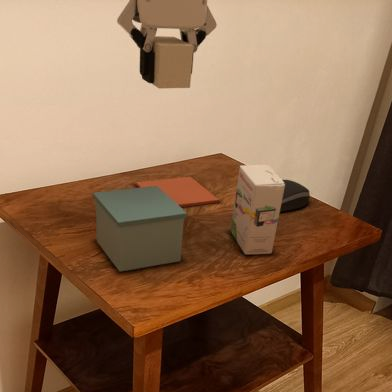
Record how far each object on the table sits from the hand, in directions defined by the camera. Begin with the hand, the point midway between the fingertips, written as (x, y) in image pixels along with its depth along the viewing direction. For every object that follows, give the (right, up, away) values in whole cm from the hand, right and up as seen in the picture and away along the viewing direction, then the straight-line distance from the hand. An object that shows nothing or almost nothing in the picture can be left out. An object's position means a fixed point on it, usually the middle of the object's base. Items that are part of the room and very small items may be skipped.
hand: (165, 79), depth 79 cm
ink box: (+14, -22, +10) cm, 28 cm away
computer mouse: (+21, -12, +25) cm, 35 cm away
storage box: (-5, -25, +5) cm, 25 cm away
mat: (+1, -10, +24) cm, 26 cm away
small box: (0, 0, 0) cm, 0 cm away
